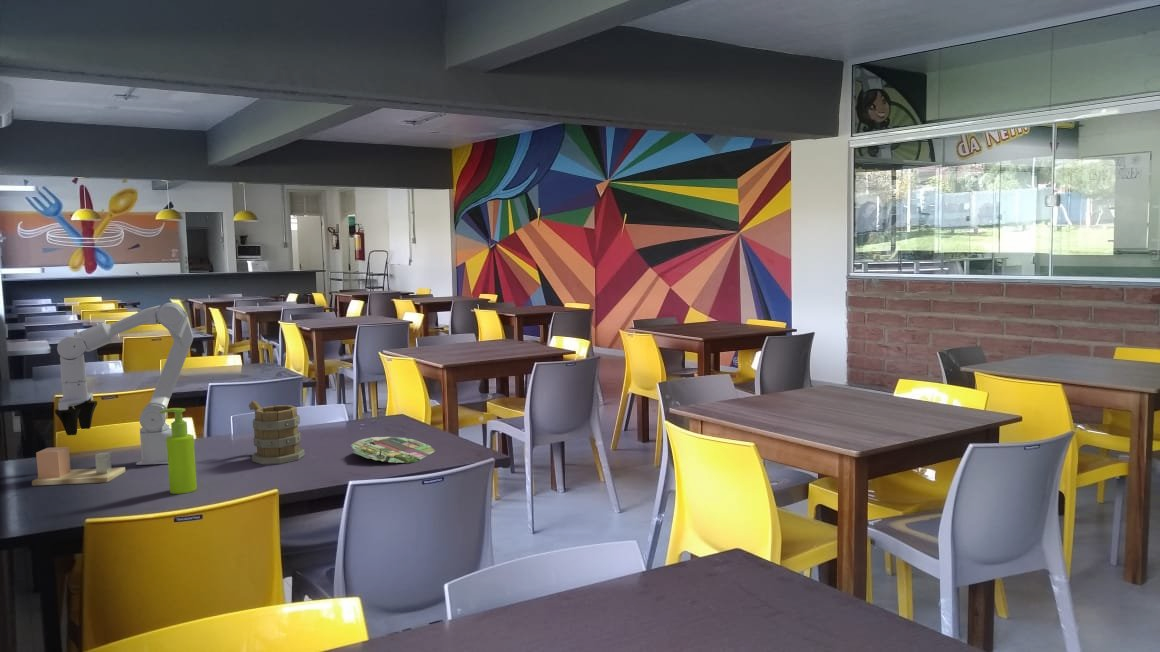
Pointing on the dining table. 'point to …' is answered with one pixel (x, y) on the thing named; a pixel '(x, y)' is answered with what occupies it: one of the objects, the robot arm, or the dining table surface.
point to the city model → (392, 449)
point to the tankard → (276, 434)
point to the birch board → (80, 477)
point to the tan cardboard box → (53, 462)
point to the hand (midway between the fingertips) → (78, 431)
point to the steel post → (103, 463)
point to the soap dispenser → (180, 455)
